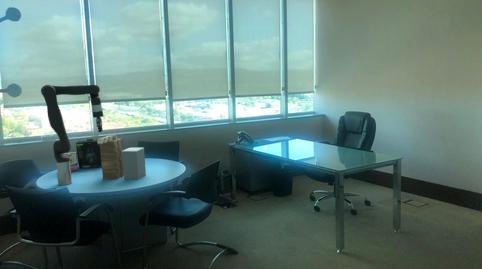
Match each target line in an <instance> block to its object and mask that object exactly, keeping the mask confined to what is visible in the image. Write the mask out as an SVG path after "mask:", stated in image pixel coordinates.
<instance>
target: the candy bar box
mask: <svg viewBox="0 0 482 269" xmlns="http://www.w3.org/2000/svg"><path fill="white" fill-rule="evenodd" d="M65 155H66V156H68V157H69V158H70V167H71V173H72V172H78V171H79V166H78V157H77V151H72V152H70V151H69V152H68V153H65Z"/></svg>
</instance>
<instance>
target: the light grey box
mask: <svg viewBox="0 0 482 269" xmlns="http://www.w3.org/2000/svg"><path fill="white" fill-rule="evenodd" d="M145 156H146V155H145V147H128V148H126V149H123V151H122V159H123V172H124V176H123V179H124V180H140V179H142V178H143V177H145V176H147V171H146V170H147V169H146V158H145Z"/></svg>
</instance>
